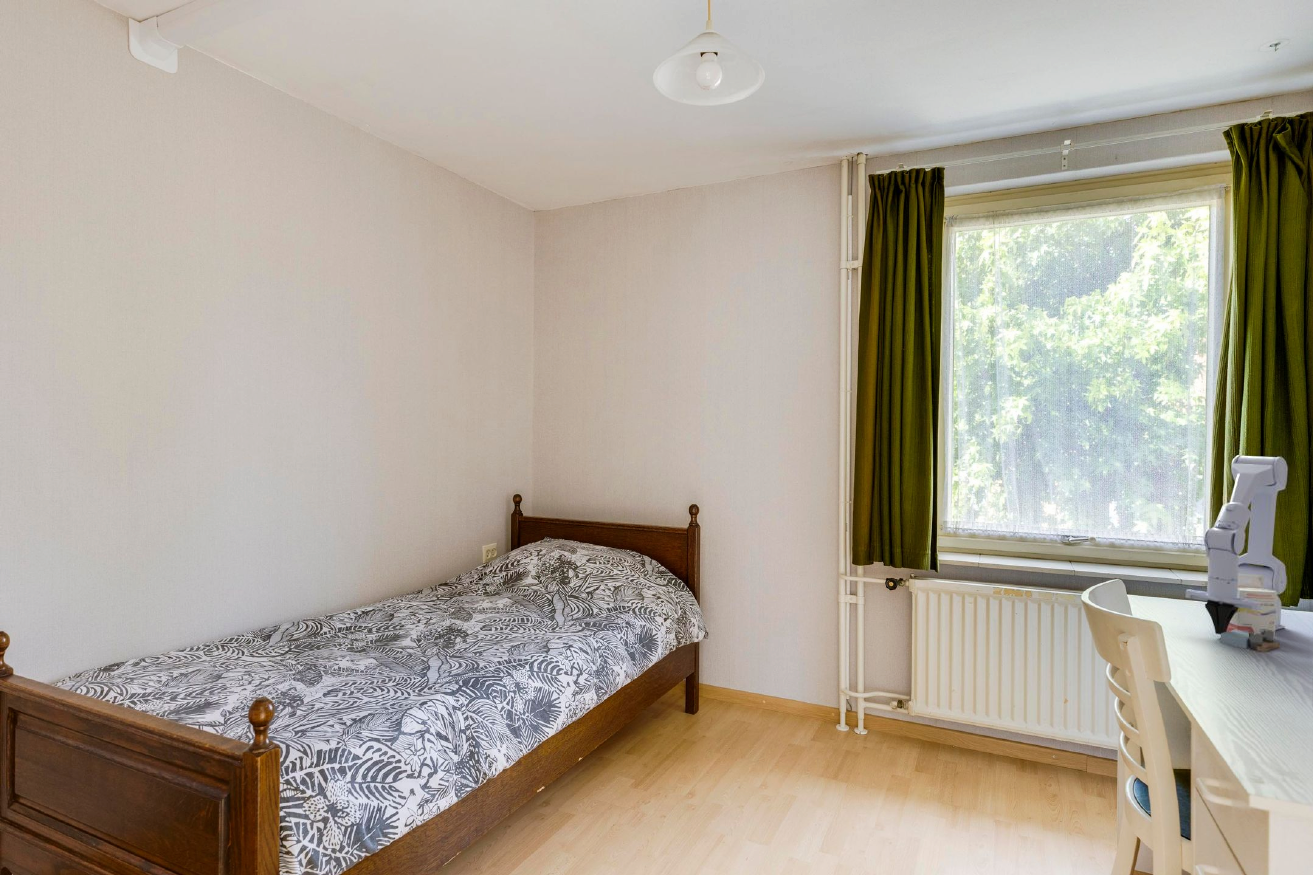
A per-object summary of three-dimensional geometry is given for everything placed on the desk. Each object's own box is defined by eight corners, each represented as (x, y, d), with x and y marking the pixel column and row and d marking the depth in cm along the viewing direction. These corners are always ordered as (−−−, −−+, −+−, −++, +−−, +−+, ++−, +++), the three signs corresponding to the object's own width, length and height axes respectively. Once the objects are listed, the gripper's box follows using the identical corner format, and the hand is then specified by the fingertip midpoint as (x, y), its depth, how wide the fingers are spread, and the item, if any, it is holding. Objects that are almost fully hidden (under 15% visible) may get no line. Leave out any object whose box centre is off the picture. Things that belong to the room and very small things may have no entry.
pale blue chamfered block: (1235, 639, 172) (1236, 629, 172) (1261, 645, 168) (1261, 634, 168) (1220, 643, 168) (1220, 633, 168) (1245, 649, 164) (1246, 639, 164)
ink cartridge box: (1238, 637, 172) (1240, 577, 172) (1224, 632, 177) (1226, 573, 177) (1276, 639, 171) (1278, 579, 171) (1261, 633, 176) (1263, 574, 176)
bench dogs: (1262, 643, 168) (1263, 628, 168) (1279, 647, 165) (1280, 632, 165) (1246, 648, 164) (1247, 633, 164) (1263, 652, 161) (1264, 636, 161)
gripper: (1180, 573, 176) (1178, 627, 176) (1252, 585, 163) (1249, 644, 163) (1194, 570, 179) (1192, 624, 180) (1265, 582, 167) (1263, 640, 167)
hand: (1220, 633), depth 172 cm, fingers closed
